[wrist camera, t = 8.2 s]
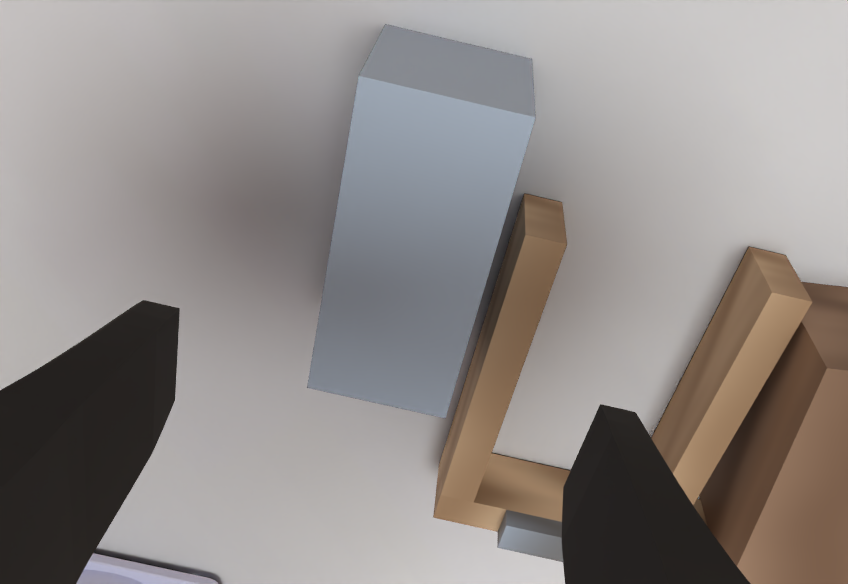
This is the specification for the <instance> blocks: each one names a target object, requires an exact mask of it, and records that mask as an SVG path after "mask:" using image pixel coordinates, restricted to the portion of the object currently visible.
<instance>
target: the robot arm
mask: <svg viewBox="0 0 848 584" xmlns="http://www.w3.org/2000/svg"><path fill="white" fill-rule="evenodd" d="M179 309H180V308H175V307H171V306H167V305H162V304H158V303H153V302H149V301H145V300H143V301H141V302H140V303H138V304H136V305H135V306H133V307H132V308H130V309H129V310H127V311H126V312H124V313H123V314H121V315H120V316H118V317H117V318H115V319H114V320H112V321H111V322H109V323H108V324H106V325H105V326H104V327H102V328H101V329H99V330H98V331H96V332H95V333H93V334H92V335H90V336H89V337H87V338H86V339H84V340H83V341H81V342H80V343H78V344H77V345H75V346H73V347H72V348H70V349H69V350H67V351H66V352H64V353H62V354H61V355H59V356H58V357H56V358H55V359H53V360H51V361H50V362H48V363H47V364H45V365H43V366H42V367H40V368H39V369H37V370H35V371H34V372H32V373H30V374H28V375H27V376H25V377H23V378H21V379H20V380H18V381H16V382H14V383H13V384H11V385H9V386H7V387H5V388H4V389H2V390H0V584H218V582H216V581H215V580H213V579H211V578H207V577H202V576H197V575H193V574H188V573H183V572H179V571H174V570H170V569H165V568H160V567H156V566H151V565H146V564H142V563H137V562H132V561H128V560H123V559H118V558H114V557H109V556H104V555H100V554H95V553H94V551H95V549H96V548H97V546H98V544H99V542H100V541H101V539H102V537H103V536H104V534H105V532H106V531H107V529H108V527H109V526H110V524H111V522H112V521H113V519H114V517H115V516H116V514H117V512H118V510H119V509H120V507H121V505H122V504H123V502H124V500H125V499H126V497H127V495H128V494H129V492H130V490H131V489H132V487H133V485H134V483H135V482H136V480H137V478H138V477H139V475H140V473H141V471H142V470H143V468H144V466H145V465H146V463H147V461H148V459H149V458H150V456H151V454H152V452H153V450H154V448H155V446H156V443H157V441H158V439H159V437H160V434H161V432H162V430H163V427H164V425H165V423H166V420H167V418H168V415H169V413H170V411H171V408H172V406H173V403H174V401H175V387H176V368H177V348H178V329H179ZM562 553H563V564H564V575H565V584H751V583H750V582H749V581H748V580H747V579H746V577H745V576H744V575H743V574H742V572H741V571H740V570H739V568H738V567H737V566H736V565H735V563H734V562H733V561H732V559H731V558H730V557H729V555H728V554H727V553H726V551H725V550H724V548H723V547H722V546H721V544H720V543H719V542H718V540H717V539H716V538H715V536H714V535H713V534H712V532H711V531H710V529H709V528H708V526H707V525H706V524H705V522H704V521H703V519H702V518H701V516H700V515H699V513H698V512H697V510H696V509H695V507H694V506H693V504H692V503H691V501H690V500H689V498H688V497H687V495H686V494H685V492H684V491H683V489H682V487H681V486H680V484H679V483H678V481H677V480H676V478H675V476H674V475H673V473H672V472H671V470H670V468H669V467H668V465H667V463H666V462H665V460H664V459H663V457H662V455H661V454H660V452H659V450H658V449H657V447H656V445H655V444H654V442H653V440H652V439H651V437H650V435H649V434H648V432H647V430H646V429H645V427H644V425H643V424H642V422H641V421H640V419H639V417H638V416H637V414H636V413H635V412H632V411H627V410H623V409H619V408H614V407H610V406H606V405H601V404H600V406H599V408H598V411H597V413H596V415H595V417H594V420H593V422H592V424H591V426H590V429H589V431H588V433H587V435H586V438H585V440H584V442H583V444H582V446H581V449H580V451H579V453H578V455H577V458H576V460H575V462H574V464H573V467H572V469H571V471H570V473H569V475H568V478H567V480H566V482H565V484H564V487H563V506H562Z"/></svg>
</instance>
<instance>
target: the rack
mask: <svg viewBox="0 0 848 584" xmlns="http://www.w3.org/2000/svg"><path fill="white" fill-rule="evenodd" d="M566 246H567V239H566V231H565V223H564V214H563V206H562V202H558V201H554V200H549V199H545V198H541V197H537V196H533V195H528V194H524V196H523V199H522V203H521V206H520V209H519V212H518V215H517V218H516V222H515V225H514V228H513V231H512V234H511V237H510V241H509V244H508V247H507V250H506V253H505V257H504V260H503V263H502V266H501V269H500V272H499V276H498V279H497V282H496V285H495V288H494V291H493V295H492V298H491V301H490V304H489V307H488V311H487V314H486V317H485V320H484V323H483V326H482V330H481V333H480V336H479V339H478V342H477V346H476V349H475V352H474V355H473V358H472V361H471V365H470V368H469V371H468V374H467V377H466V380H465V384H464V387H463V390H462V393H461V396H460V400H459V403H458V406H457V409H456V412H455V415H454V419H453V422H452V425H451V428H450V431H449V435H448V438H447V441H446V444H445V447H444V450H443V454H442V457H441V460H440V463H439V469H438V478H437V488H436V497H435V507H434V516H433V517H434V518H438V519H443V520H447V521H452V522H456V523H461V524H465V525H470V526H474V527H479V528H484V529H488V530H493V531H497V532H498V548H501V549H506V550H511V551H515V552H520V553H524V554H529V555H533V556H538V557H542V558H547V559H552V560H556V561H561V562H563V553H562V506H563V487H564V484H565V482H566V480H567V478H568V475H569V473H570V471H569V470H564V469H560V468H555V467H551V466H546V465H542V464H537V463H533V462H528V461H524V460H519V459H515V458H511V457H506V456H502V455H497V454H493V453H492V450H493V448H494V445H495V442H496V439H497V437H498V434H499V431H500V428H501V426H502V423H503V420H504V417H505V414H506V412H507V409H508V406H509V403H510V401H511V398H512V395H513V392H514V390H515V387H516V384H517V381H518V379H519V376H520V373H521V370H522V367H523V365H524V362H525V359H526V356H527V354H528V351H529V348H530V345H531V343H532V340H533V337H534V334H535V332H536V329H537V326H538V323H539V321H540V318H541V315H542V312H543V309H544V307H545V304H546V301H547V298H548V296H549V293H550V290H551V287H552V285H553V282H554V279H555V276H556V274H557V271H558V268H559V265H560V263H561V260H562V257H563V254H564V251H565V249H566ZM811 304H812V300H811V298H810V297H809V295H808V293H807V291H806V290H805V288H804V286H803V284H802V283H801V281H800V279H799V277H798V276H797V274H796V272H795V270H794V269H793V267H792V265H791V264H790V262H789V260H788V258H787V257H786V255H782V254H778V253H773V252H769V251H765V250H761V249H757V248H752V247H748V249H747V251H746V253H745V255H744V257H743V259H742V261H741V263H740V265H739V267H738V269H737V271H736V273H735V275H734V277H733V279H732V281H731V283H730V285H729V287H728V289H727V291H726V293H725V295H724V297H723V298H722V300H721V302H720V304H719V306H718V308H717V310H716V312H715V314H714V316H713V318H712V320H711V322H710V324H709V326H708V328H707V330H706V332H705V334H704V336H703V338H702V340H701V342H700V344H699V346H698V348H697V350H696V351H695V353H694V355H693V357H692V359H691V361H690V363H689V365H688V367H687V369H686V371H685V373H684V375H683V377H682V379H681V381H680V383H679V385H678V387H677V389H676V391H675V393H674V395H673V397H672V399H671V401H670V403H669V405H668V406H667V408H666V410H665V412H664V414H663V416H662V418H661V420H660V422H659V424H658V426H657V428H656V430H655V432H654V434H653V436H652V438H651V439H652V440H653V442H654V444H655V445H656V447H657V449H658V450H659V452H660V454H661V455H662V457H663V459H664V460H665V462H666V463H667V465H668V467H669V468H670V470H671V472H672V473H673V475H674V476H675V478H676V480H677V481H678V483H679V484H680V486H681V487H682V489H683V491H684V492H685V494H686V495H687V497H688V498H689V500H690V501H691V503H692V504H693V506H694V507H695V509H696V510H697V512H698V513H699V515H700V516H701V518H702V519H703V521H704V522H705V524H706V525H707V523H706V519H705V515H704V511H703V508H702V504H701V500H698V499H697V498H698V496H699V495H700V493H701V491H702V490H703V488H704V486H705V484H706V483H707V481H708V479H709V478H710V476H711V474H712V472H713V471H714V469H715V467H716V466H717V464H718V462H719V461H720V459H721V457H722V455H723V454H724V452H725V450H726V449H727V447H728V445H729V444H730V442H731V440H732V438H733V437H734V435H735V433H736V432H737V430H738V428H739V426H740V425H741V423H742V421H743V420H744V418H745V416H746V415H747V413H748V411H749V409H750V408H751V406H752V404H753V403H754V401H755V399H756V398H757V396H758V394H759V392H760V391H761V389H762V387H763V386H764V384H765V382H766V380H767V379H768V377H769V375H770V374H771V372H772V370H773V369H774V367H775V365H776V363H777V362H778V360H779V358H780V357H781V355H782V353H783V352H784V350H785V348H786V346H787V345H788V343H789V341H790V340H791V338H792V336H793V334H794V333H795V331H796V329H797V328H798V326H799V324H800V323H801V321H802V319H803V317H804V316H805V314H806V312H807V311H808V309H809V307H810V305H811Z"/></svg>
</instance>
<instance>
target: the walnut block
mask: <svg viewBox="0 0 848 584" xmlns="http://www.w3.org/2000/svg"><path fill="white" fill-rule="evenodd" d="M801 283H802V284H803V286H804V288H805V290H806V291H807V293H808V295H809V297H810V298H811V300H812V304H811V305H810V307H809V309H808V311H807V312H806V314H805V316H804V317H803V319H802V321H801V323H800V324H799V326H798V328H797V329H796V331H795V333H794V334H793V336H792V338H791V340H790V341H789V343H788V345H787V346H786V348H785V350H784V352H783V353H782V355H781V357H780V358H779V360H778V362H777V363H776V365H775V367H774V369H773V370H772V372H771V374H770V375H769V377H768V379H767V380H766V382H765V384H764V386H763V387H762V389H761V391H760V392H759V394H758V396H757V398H756V399H755V401H754V403H753V404H752V406H751V408H750V409H749V411H748V413H747V415H746V416H745V418H744V420H743V421H742V423H741V425H740V426H739V428H738V430H737V432H736V433H735V435H734V437H733V438H732V440H731V442H730V444H729V445H728V447H727V449H726V450H725V452H724V454H723V455H722V457H721V459H720V461H719V462H718V464H717V466H716V467H715V469H714V471H713V472H712V474H711V476H710V478H709V479H708V481H707V483H706V484H705V486H704V488H703V490H702V491H701V493H700V495H699V496H700V500H701V504H702V508H703V511H704V515H705V519H706V523H707V526H708V528H709V529H710V531H711V532H712V534H713V535H714V536H715V538H716V539H717V540H718V542H719V543H720V544H721V546H722V547H723V548H724V550H725V551H726V553H727V554H728V555H729V557H730V558H731V559H732V561H733V562H734V563H735V565H736V566H737V567H738V568H739V570H740V571H741V572H742V574H743V575H744V576H745V577H746V579H747V580H748V581H749V582H750V583H751V584H848V287H841V286H832V285H824V284H815V283H807V282H801Z"/></svg>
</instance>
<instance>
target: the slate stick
mask: <svg viewBox="0 0 848 584" xmlns="http://www.w3.org/2000/svg"><path fill="white" fill-rule="evenodd" d="M535 118H536V115H535V99H534V83H533V68H532V59H530V58H525V57H521V56H517V55H513V54H509V53H504V52H500V51H496V50H492V49H488V48H483V47H479V46H475V45H471V44H467V43H462V42H458V41H454V40H450V39H445V38H441V37H437V36H433V35H429V34H424V33H420V32H416V31H412V30H408V29H403V28H399V27H395V26H391V25H387V24H385V26H384V28H383V30H382V32H381V34H380V36H379V38H378V40H377V42H376V44H375V45H374V47H373V49H372V51H371V53H370V55H369V57H368V59H367V61H366V63H365V65H364V66H363V68H362V70H361V72H360V74H359V77H358V83H357V89H356V95H355V101H354V107H353V113H352V119H351V125H350V131H349V137H348V143H347V149H346V155H345V162H344V168H343V174H342V180H341V186H340V192H339V198H338V204H337V210H336V216H335V222H334V228H333V234H332V240H331V246H330V252H329V258H328V264H327V270H326V277H325V283H324V289H323V295H322V301H321V307H320V313H319V319H318V325H317V331H316V337H315V343H314V349H313V355H312V361H311V367H310V373H309V379H308V385H307V388H311V389H315V390H320V391H324V392H329V393H333V394H338V395H342V396H347V397H351V398H356V399H360V400H365V401H369V402H374V403H378V404H383V405H387V406H392V407H396V408H401V409H405V410H410V411H414V412H419V413H423V414H428V415H432V416H437V417H441V418H446V415H447V412H448V408H449V405H450V402H451V398H452V395H453V392H454V388H455V385H456V382H457V378H458V375H459V372H460V368H461V365H462V362H463V358H464V355H465V352H466V348H467V345H468V342H469V338H470V335H471V332H472V328H473V325H474V322H475V318H476V315H477V312H478V308H479V305H480V302H481V298H482V295H483V292H484V288H485V285H486V282H487V278H488V275H489V272H490V268H491V265H492V262H493V258H494V255H495V252H496V248H497V245H498V242H499V238H500V235H501V231H502V228H503V225H504V221H505V218H506V215H507V211H508V208H509V205H510V201H511V198H512V195H513V191H514V188H515V185H516V181H517V178H518V175H519V171H520V168H521V165H522V161H523V158H524V155H525V151H526V148H527V145H528V141H529V138H530V135H531V131H532V128H533V125H534V121H535Z"/></svg>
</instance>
